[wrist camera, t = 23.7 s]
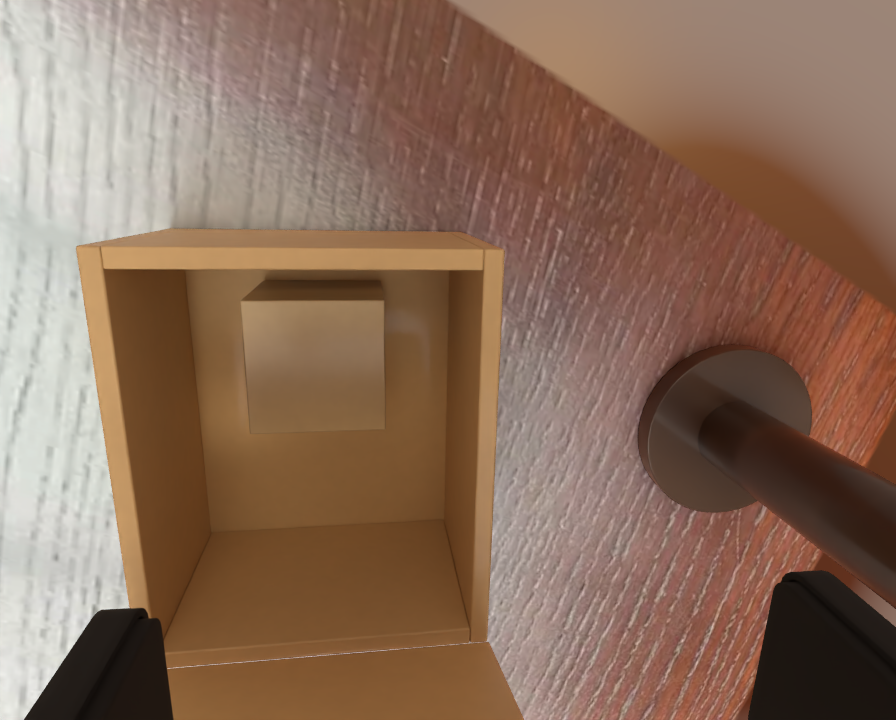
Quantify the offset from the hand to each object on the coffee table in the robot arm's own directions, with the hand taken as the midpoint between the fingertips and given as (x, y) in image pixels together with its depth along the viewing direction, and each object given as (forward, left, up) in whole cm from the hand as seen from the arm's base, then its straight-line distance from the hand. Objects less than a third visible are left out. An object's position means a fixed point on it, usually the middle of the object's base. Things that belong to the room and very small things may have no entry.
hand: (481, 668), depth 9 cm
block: (0, -4, -16) cm, 17 cm away
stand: (-3, +15, -17) cm, 23 cm away
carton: (+2, -3, -17) cm, 17 cm away
